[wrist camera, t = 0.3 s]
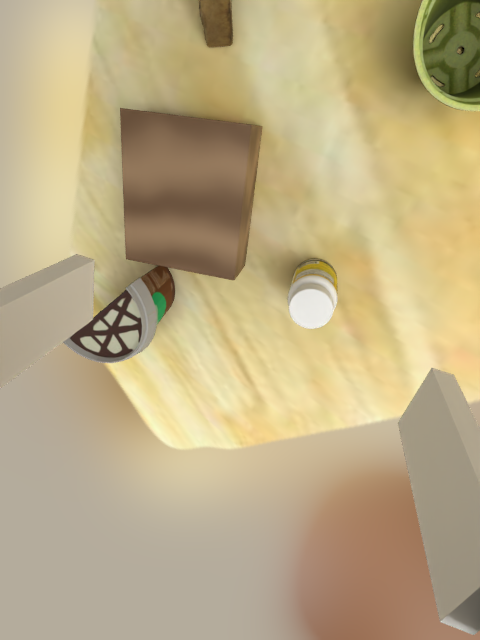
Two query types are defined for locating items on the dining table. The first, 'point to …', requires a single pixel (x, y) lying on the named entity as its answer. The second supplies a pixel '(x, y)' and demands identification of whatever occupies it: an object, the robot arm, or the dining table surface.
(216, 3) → the rock
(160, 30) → the dining table surface
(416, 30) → the plant pot
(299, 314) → the supplement bottle
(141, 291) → the food container
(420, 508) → the robot arm
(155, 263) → the walnut block
